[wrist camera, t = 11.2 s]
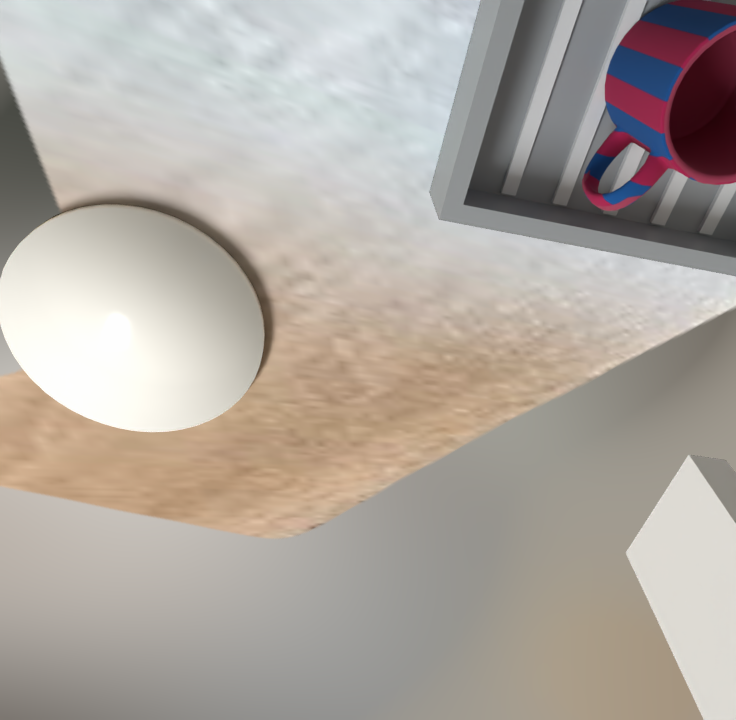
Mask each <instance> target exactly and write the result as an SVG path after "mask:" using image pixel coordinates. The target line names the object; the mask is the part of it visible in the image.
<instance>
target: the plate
mask: <svg viewBox="0 0 736 720" xmlns="http://www.w3.org/2000/svg"><path fill="white" fill-rule="evenodd" d="M0 324H1V328H2V331H3V334H4V337H5V339H6V342H7V344H8V346H9V348H10V350H11V351H12V353H13V355H14V357H15V358H16V360H17V361H18V363H19V364H20V366H21V367H22V369H23V370H24V371H25V372H26V373H27V374H28V376H29V377H30V378H31V379H32V380H33V381H34V382H35V383H36V384H37V385H38V386H39V387H40V388H41V389H42V390H43V391H45V392H46V393H47V394H48V395H50V396H51V397H52V398H54V399H55V400H56V401H58V402H59V403H61V404H62V405H64V406H66V407H67V408H69V409H71V410H72V411H74V412H76V413H78V414H80V415H82V416H84V417H86V418H89V419H91V420H94V421H97V422H99V423H102V424H106V425H109V426H113V427H116V428H121V429H127V430H132V431H143V432H166V431H174V430H181V429H185V428H190V427H194V426H196V425H199V424H202V423H205V422H207V421H209V420H211V419H213V418H215V417H217V416H219V415H221V414H222V413H224V412H225V411H227V410H228V409H230V408H231V407H232V406H233V405H234V404H235V403H236V402H237V401H239V400H240V399H241V397H242V396H243V395H244V394H245V393H246V391H247V390H248V389H249V387H250V385H251V384H252V382H253V380H254V379H255V377H256V374H257V372H258V369H259V366H260V363H261V358H262V354H263V348H264V338H265V328H264V318H263V314H262V310H261V306H260V302H259V300H258V297H257V295H256V292H255V290H254V288H253V286H252V284H251V283H250V281H249V279H248V277H247V275H246V274H245V273H244V271H243V270H242V269H241V267H240V266H239V265H238V263H237V262H236V261H235V260H234V259H233V258H232V257H231V256H230V254H229V253H228V252H227V251H226V250H225V249H224V248H223V247H221V246H220V245H219V244H218V243H217V242H215V241H214V240H213V239H212V238H210V237H209V236H208V235H206V234H205V233H203V232H201V231H200V230H198V229H197V228H195V227H194V226H192V225H190V224H188V223H186V222H184V221H182V220H180V219H178V218H176V217H173V216H170V215H167V214H165V213H162V212H159V211H155V210H151V209H147V208H143V207H138V206H130V205H122V204H101V205H93V206H86V207H81V208H77V209H74V210H70V211H66V212H64V213H59V214H57V215H55V216H53V217H51V218H50V219H48V220H46V221H45V222H44V223H42V224H40V225H39V226H38V227H37V228H36V229H35V230H34V231H32V232H31V233H30V234H29V235H28V236H27V237H26V238H25V239H24V240H23V241H22V242H21V243H20V244H19V245H18V246H17V248H16V249H15V250H14V251H13V253H12V254H11V256H10V257H9V259H8V261H7V263H6V265H5V267H4V269H3V272H2V276H1V279H0Z"/></svg>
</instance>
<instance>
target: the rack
mask: <svg viewBox="0 0 736 720" xmlns="http://www.w3.org/2000/svg"><path fill="white" fill-rule="evenodd" d="M674 1H678V0H481V2H480V5H479V9H478V13H477V17H476V20H475V24H474V28H473V32H472V35H471V39H470V43H469V46H468V50H467V54H466V58H465V61H464V65H463V69H462V73H461V76H460V80H459V84H458V88H457V91H456V95H455V99H454V103H453V106H452V110H451V114H450V118H449V121H448V125H447V129H446V132H445V136H444V140H443V144H442V147H441V151H440V155H439V159H438V162H437V166H436V170H435V174H434V177H433V181H432V185H431V189H430V192H429V193H430V196H431V198H432V201H433V204H434V207H435V210H436V212H437V215H438V218H439V220H444V221H449V222H454V223H459V224H465V225H470V226H475V227H480V228H486V229H491V230H496V231H501V232H507V233H512V234H517V235H522V236H528V237H533V238H538V239H543V240H549V241H554V242H559V243H564V244H570V245H575V246H580V247H585V248H591V249H596V250H601V251H606V252H612V253H617V254H622V255H627V256H633V257H638V258H643V259H648V260H654V261H659V262H664V263H669V264H675V265H680V266H685V267H690V268H695V269H701V270H706V271H711V272H716V273H722V274H727V275H732V276H736V182H735V183H731V184H721V185H712V184H704V183H700V182H697V181H694V180H691V179H690V178H688V177H686V176H684V175H683V174H681V173H679V172H677V171H676V170H674V169H669V168H668V169H667V171H666V172H665V173H664V174H663V175H662V176H661V177H660V178H659V180H658V181H657V182H656V183H655V184H654V185H653V187H652V188H651V189H649V190H648V191H647V192H646V193H645V194H644V195H643V196H642V197H640V198H639V199H638V200H637V201H635V202H634V203H632V204H630V205H628V206H627V207H624V208H621V209H618V210H614V211H606V210H602V209H600V208H598V207H597V206H595V205H594V204H592V203H591V202H590V200H589V199H588V198H587V196H586V195H585V193H584V191H583V188H582V179H583V176H584V173H585V170H586V168H587V166H588V164H589V162H590V161H591V159H592V158H593V156H594V154H595V153H596V152H597V150H598V149H599V148H600V146H601V145H602V144H603V143H604V141H605V140H606V139H607V137H608V136H609V135H610V134H611V133H612V132H613V131H614V130H615V129H616V128H617V127H616V126H615V125H614V123H613V122H612V120H611V118H610V116H609V113H608V111H607V107H606V102H605V80H606V74H607V70H608V67H609V64H610V61H611V59H612V56H613V54H614V52H615V50H616V48H617V46H618V45H619V43H620V42H621V40H622V39H623V37H624V36H625V35H626V34H627V32H628V31H629V30H630V29H631V28H632V27H633V26H634V25H635V24H636V23H637V22H638V21H639V20H640V19H642V18H643V17H644V16H645V15H647V14H648V13H650V12H651V11H653V10H654V9H656V8H658V7H660V6H663V5H665V4H667V3H670V2H674ZM706 1H712V2H718V3H725V4H731V5H736V0H706ZM648 155H649V152H647V151H646V150H644V149H643V148H641V147H640V146H638V145H636V144H635V143H630V144H629V145H628V146H627V147H626V148H625V149H623V150H622V151H621V152H620V153H619V154H618V156H617V157H616V158H615V159H614V160H613V161H612V162H611V164H610V165H609V166H608V168H607V169H606V171H605V172H604V174H603V176H602V177H601V179H600V182H599V186H598V193H601V194H604V193H610V192H613V191H615V190H616V189H618V188H620V187H621V186H623V185H624V184H625V183H626V182H628V181H629V180H630V179H631V178H632V177H633V176H634V175H635V174H636V173H637V172H638V171H639V170H640V168H641V167H642V166H643V165H644V163H645V162H646V160H647V157H648Z"/></svg>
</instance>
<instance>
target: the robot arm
mask: <svg viewBox="0 0 736 720" xmlns="http://www.w3.org/2000/svg"><path fill="white" fill-rule="evenodd" d="M626 554H627V557H628V559H629V561H630V563H631V565H632V567H633V569H634V571H635V573H636V576H637V578H638V580H639V582H640V584H641V586H642V589H643V591H644V593H645V595H646V597H647V599H648V601H649V603H650V605H651V608H652V610H653V612H654V614H655V616H656V619H657V621H658V623H659V625H660V627H661V629H662V631H663V633H664V636H665V638H666V640H667V642H668V644H669V646H670V648H671V650H672V653H673V655H674V657H675V659H676V661H677V663H678V665H679V668H680V670H681V672H682V674H683V676H684V678H685V681H686V682H687V685H688V687H689V689H690V691H691V693H692V695H693V698H694V700H695V702H696V704H697V706H698V708H699V710H700V713H701V715H702V717H703V719H704V720H736V473H735V471H734V470H733V469H732V467H731V466H730V465H729V464H728V462H727V461H726V460H722V459H716V458H709V457H702V456H695V455H688V457H687V458H686V460H685V461H684V463H683V465H682V466H681V468H680V469H679V471H678V473H677V474H676V475H675V477H674V478H673V480H672V482H671V483H670V485H669V486H668V488H667V490H666V491H665V493H664V494H663V496H662V497H661V499H660V500H659V502H658V503H657V505H656V507H655V508H654V510H653V511H652V513H651V514H650V516H649V517H648V519H647V521H646V522H645V524H644V525H643V527H642V529H641V530H640V531H639V533H638V535H637V536H636V538H635V539H634V541H633V542H632V544H631V545H630V547H629V549H628V550H627V552H626Z"/></svg>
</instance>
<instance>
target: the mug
mask: <svg viewBox="0 0 736 720" xmlns="http://www.w3.org/2000/svg"><path fill="white" fill-rule="evenodd" d="M605 102H606V107H607V111H608V113H609V116H610V118H611V120H612V122H613V123H614V125H615V126H616V127H617V128H616V129H615V130H614V131H613V132H612V133H611V134H610V135H609V136H608V137H607V139H606V140H605V141H604V143H603V144H602V145H601V146H600V148H599V149H598V150H597V152H596V153H595V154H594V156H593V158H592V159H591V161H590V162H589V164H588V166H587V168H586V170H585V173H584V176H583V179H582V188H583V191H584V193H585V195H586V196H587V198H588V199H589V200H590V202H591V203H592V204H594V205H595V206H597V207H598V208H600V209H602V210H606V211H614V210H618V209H621V208H624V207H627V206H628V205H630V204H632V203H634V202H635V201H637V200H638V199H639V198H640V197H642V196H643V195H644V194H645V193H646V192H647V191H648V190H649V189H651V188H652V187H653V185H654V184H655V183H656V182H657V181H658V180H659V178H660V177H661V176H662V175H663V174H664V173H665V172H666V171H667V169H668V168H669V169H674V170H676V171H677V172H679V173H681V174H683V175H684V176H686V177H688V178H690V179H691V180H694V181H697V182H700V183H704V184H712V185H721V184H731V183H735V182H736V5H731V4H725V3H718V2H712V1H706V0H678V1H674V2H670V3H667V4H665V5H663V6H660V7H658V8H656V9H654V10H653V11H651V12H650V13H648V14H647V15H645V16H644V17H643V18H642V19H640V20H639V21H638V22H637V23H636V24H635V25H634V26H633V27H632V28H631V29H630V30H629V31H628V32H627V34H626V35H625V36H624V37H623V39H622V40H621V42H620V43H619V45H618V46H617V48H616V50H615V52H614V54H613V56H612V59H611V61H610V64H609V67H608V70H607V74H606V80H605ZM630 143H635V144H636V145H638V146H640V147H641V148H643V149H644V150H646V151H647V152H649V155H648V157H647V160H646V162H645V163H644V165H643V166H642V167H641V168H640V170H639V171H638V172H637V173H636V174H635V175H634V176H633V177H632V178H631V179H630V180H629V181H628V182H626V183H625V184H624V185H623V186H621V187H620V188H618V189H616V190H615V191H613V192H610V193H604V194H601V193H598V186H599V182H600V179H601V177H602V176H603V174H604V172H605V171H606V169H607V168H608V166H609V165H610V164H611V162H612V161H613V160H614V159H615V158H616V157H617V156H618V154H619V153H620V152H621V151H622V150H623V149H625V148H626V147H627V146H628V145H629V144H630Z"/></svg>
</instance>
